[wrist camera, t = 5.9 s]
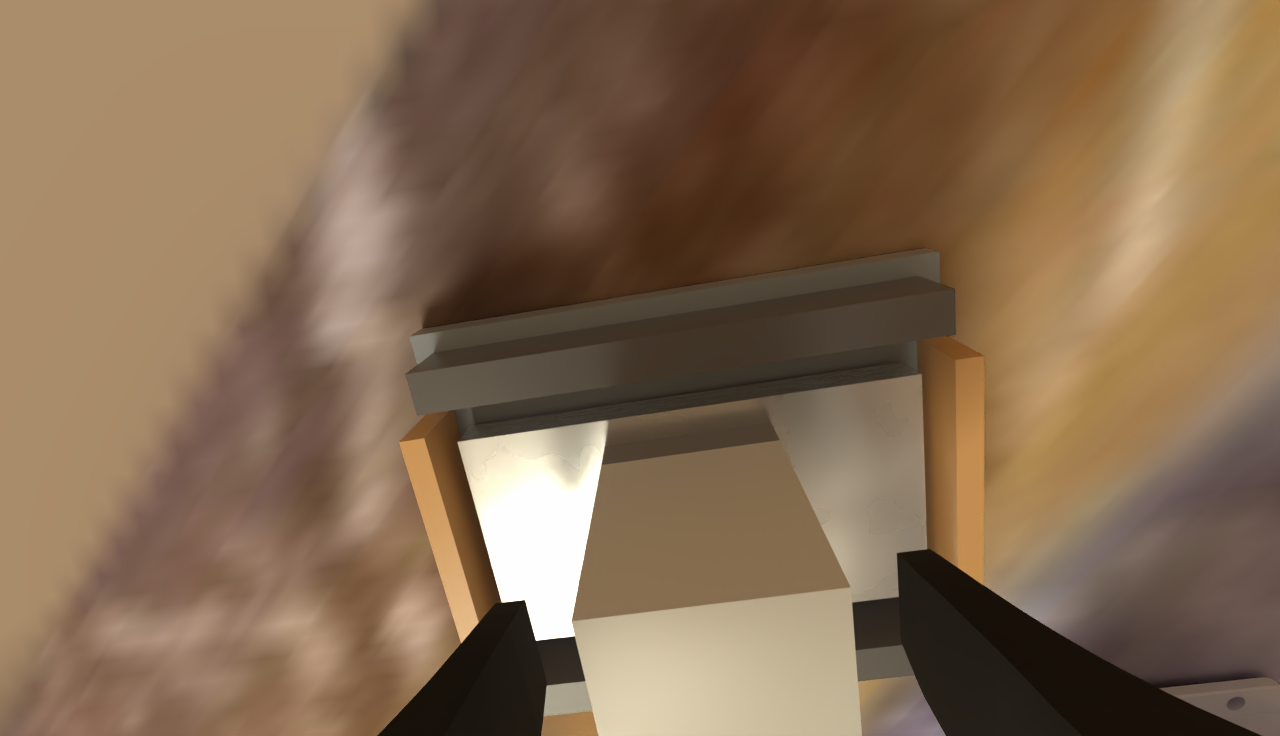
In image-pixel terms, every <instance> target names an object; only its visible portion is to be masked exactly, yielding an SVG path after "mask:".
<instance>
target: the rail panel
mask: <svg viewBox="0 0 1280 736" xmlns="http://www.w3.org/2000/svg"><path fill="white" fill-rule="evenodd" d="M950 335H955V289H954V288H951V287H948V286H946V285H943V284H940V251H936V250H932V249H928V248H921V249H915V250H909V251H903V252H897V253H890V254H884V255H878V256H872V257H866V258H859V259H853V260H847V261H841V262H834V263H828V264H822V265H816V266H810V267H803V268H797V269H791V270H785V271H779V272H772V273H766V274H760V275H754V276H748V277H741V278H735V279H729V280H723V281H716V282H710V283H704V284H698V285H692V286H685V287H679V288H673V289H667V290H661V291H654V292H648V293H642V294H636V295H630V296H623V297H617V298H611V299H605V300H599V301H592V302H586V303H580V304H574V305H567V306H561V307H555V308H549V309H543V310H536V311H530V312H524V313H518V314H512V315H505V316H499V317H493V318H487V319H481V320H474V321H468V322H462V323H456V324H449V325H443V326H437V327H431V328H425V329H421V330H419V331H417V332H416V333H414V334H413V335H411V336H409V337H410V341H411V344H412V348H413V351H414V355H415V358H416V362H417V366H415V367H414V368H413V369H412V370H410V371H409V372H408V373H406V374H405V375H406V379H407V382H408V385H409V389H410V392H411V396H412V399H413V402H414V406H415V409H416V412H417V416H418V415H424V414H426V415H425V416H424V417H423V418H422V419H421V420H420V421H419V422H418V423H417V424H416V425H415V426H414V427H413V428H412V429H411V430H410V431H409V433H408V434H407V435H406V436H405V437H404V438H403V439H402V440H401V441H400V442H399V444H400V447H401V450H402V453H403V457H404V460H405V463H406V466H407V469H408V473H409V476H410V479H411V482H412V486H413V489H414V492H415V495H416V499H417V502H418V505H419V508H420V511H421V515H422V518H423V521H424V524H425V528H426V531H427V534H428V537H429V541H430V544H431V547H432V550H433V553H434V557H435V560H436V563H437V566H438V570H439V573H440V576H441V579H442V583H443V586H444V589H445V592H446V595H447V599H448V602H449V605H450V608H451V612H452V615H453V618H454V621H455V625H456V628H457V631H458V634H459V637H460V641H461V643H462V642H463V641H464V640H465V638H466V637H467V636H468V635H469V634H470V632H471V631H472V630H473V629H474V628H475V626H476V625H477V624H478V623H479V622H480V620H481V619H482V618H483V617H484V616H485V615H486V613H487V612H488V611H489V610H490V609H491V608H492V607H493V605H494V604H495V603H502V601H501V597H500V593H499V590H498V586H497V583H496V579H495V575H494V572H493V568H492V565H491V561H490V557H489V554H488V550H487V547H486V543H485V539H484V536H483V532H482V529H481V525H480V522H479V518H478V514H477V511H476V507H475V504H474V500H473V496H472V493H471V489H470V486H469V482H468V478H467V475H466V471H465V468H464V464H463V460H462V457H461V453H460V450H459V446H458V443H457V442H458V440H459V439H460V438H461V437H462V435H463V434H464V433H465V431H466V430H467V429H468V427H469V426H472V425H479V424H486V423H492V422H499V421H506V420H513V419H520V418H526V417H533V416H540V415H547V414H553V413H560V412H567V411H574V410H580V409H587V408H594V407H601V406H607V405H614V404H621V403H628V402H634V401H641V400H648V399H655V398H661V397H668V396H675V395H682V394H688V393H695V392H702V391H709V390H716V389H722V388H729V387H736V386H743V385H749V384H756V383H763V382H770V381H776V380H783V379H790V378H797V377H803V376H810V375H817V374H824V373H830V372H837V371H844V370H851V369H857V368H864V367H871V366H878V365H885V364H891V363H898V362H906V363H907V364H908V365H910V366H911V367H913V368H914V369H915V370H917V371H918V372H920V373H921V374H922V397H923V430H924V463H925V497H926V530H927V549H931V550H932V551H934V552H936V553H937V554H939V555H940V556H942V557H943V558H944V559H946V560H947V561H949V562H950V563H952V564H953V565H955V566H956V567H958V568H959V569H960V570H962V571H963V572H965V573H966V574H968V575H969V576H971V577H972V578H974V579H975V580H976V581H978V582H979V583H981V584H982V585H984V355H982V354H980V353H978V352H976V351H974V350H972V349H970V348H968V347H967V346H965V345H963V344H961V343H959V342H957V341H955V340H953V339H951V338H949V337H948V336H950ZM852 609H853V623H854V637H855V650H856V664H857V677H858V681H865V680H874V679H883V678H892V677H902V676H911V675H915V674H914V672H913V670H912V667H911V665H910V662H909V660H908V658H907V655H906V653H905V650H904V648H903V645H902V643H901V633H900V612H899V597H894V598H885V599H877V600H869V601H860V602H852ZM536 642H537V646H538V650H539V654H540V657H541V661H542V665H543V669H544V673H545V676H546V680H547V687H546V697H545V706H544V715H543V716H549V715H558V714H567V713H576V712H585V711H593V710H592V706H591V702H590V698H589V693H588V689H587V685H586V681H585V677H584V673H583V668H582V664H581V660H580V656H579V652H578V648H577V643H576V639H575V636H569V637H561V638H552V639H544V640H536Z"/></svg>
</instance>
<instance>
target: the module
mask: <svg viewBox="0 0 1280 736" xmlns="http://www.w3.org/2000/svg"><path fill="white" fill-rule="evenodd" d="M571 623H572V627H573V631H574V635H575V639H576V643H577V648H578V652H579V656H580V660H581V664H582V668H583V673H584V677H585V681H586V685H587V689H588V693H589V698H590V702H591V706H592V710H593V714H594V718H595V723H596V727H597V731H598V735H599V736H862V731H861V718H860V704H859V691H858V677H857V664H856V650H855V637H854V623H853V609H852V596H851V587H850V585H849V582H848V580H847V578H846V576H845V574H844V572H843V570H842V568H841V566H840V564H839V562H838V560H837V558H836V555H835V553H834V551H833V549H832V547H831V545H830V543H829V541H828V539H827V537H826V535H825V533H824V531H823V529H822V526H821V524H820V522H819V520H818V518H817V516H816V514H815V512H814V510H813V508H812V506H811V504H810V502H809V500H808V497H807V495H806V493H805V491H804V489H803V487H802V485H801V483H800V481H799V479H798V477H797V475H796V473H795V470H794V468H793V466H792V464H791V462H790V460H789V458H788V456H787V454H786V452H785V450H784V448H783V446H782V444H781V441H780V439H779V437H778V435H777V433H776V431H775V429H774V427H773V425H772V423H765V424H758V425H751V426H744V427H737V428H730V429H723V430H716V431H709V432H702V433H695V434H688V435H681V436H674V437H667V438H660V439H653V440H646V441H639V442H632V443H625V444H618V445H611V446H605V448H604V453H603V458H602V464H601V469H600V474H599V479H598V484H597V490H596V495H595V500H594V505H593V510H592V516H591V521H590V526H589V531H588V536H587V542H586V547H585V552H584V557H583V562H582V568H581V573H580V578H579V583H578V589H577V594H576V599H575V604H574V609H573V615H572V620H571Z"/></svg>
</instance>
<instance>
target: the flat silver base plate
mask: <svg viewBox="0 0 1280 736" xmlns="http://www.w3.org/2000/svg"><path fill="white" fill-rule="evenodd" d="M765 423H772V425H773V427H774V429H775V431H776V433H777V435H778V437H779V439H780V441H781V444H782V446H783V448H784V450H785V452H786V454H787V456H788V458H789V460H790V462H791V464H792V466H793V468H794V470H795V473H796V475H797V477H798V479H799V481H800V483H801V485H802V487H803V489H804V491H805V493H806V495H807V497H808V500H809V502H810V504H811V506H812V508H813V510H814V512H815V514H816V516H817V518H818V520H819V522H820V524H821V526H822V529H823V531H824V533H825V535H826V537H827V539H828V541H829V543H830V545H831V547H832V549H833V551H834V553H835V555H836V558H837V560H838V562H839V564H840V566H841V568H842V570H843V572H844V574H845V576H846V578H847V580H848V582H849V585H850V587H851V596H852V602H860V601H869V600H877V599H885V598H894V597H899V591H898V569H897V553H900V552H908V551H916V550H924V549H927V530H926V497H925V463H924V430H923V397H922V374H921V373H920V372H918V371H917V370H915V369H914V368H913V367H911V366H910V365H908V364H907V363H906V362H898V363H891V364H885V365H878V366H871V367H864V368H857V369H851V370H844V371H837V372H830V373H824V374H817V375H810V376H803V377H797V378H790V379H783V380H776V381H770V382H763V383H756V384H749V385H743V386H736V387H729V388H722V389H716V390H709V391H702V392H695V393H688V394H682V395H675V396H668V397H661V398H655V399H648V400H641V401H634V402H628V403H621V404H614V405H607V406H601V407H594V408H587V409H580V410H574V411H567V412H560V413H553V414H547V415H540V416H533V417H526V418H520V419H513V420H506V421H499V422H492V423H486V424H479V425H472V426H469V427H468V429H467V430H466V431H465V433H464V434H463V435H462V437H461V438H460V439H459V440H458V442H457V443H458V446H459V450H460V453H461V457H462V460H463V464H464V468H465V471H466V475H467V478H468V482H469V486H470V489H471V493H472V496H473V500H474V504H475V507H476V511H477V514H478V518H479V522H480V525H481V529H482V532H483V536H484V539H485V543H486V547H487V550H488V554H489V557H490V561H491V565H492V568H493V572H494V575H495V579H496V583H497V586H498V590H499V593H500V597H501V601H502V602H510V601H518V600H525V601H526V604H527V608H528V612H529V616H530V620H531V623H532V627H533V631H534V635H535V639H536V640H544V639H552V638H561V637H569V636H575V635H574V631H573V627H572V623H571V620H572V615H573V609H574V604H575V599H576V594H577V589H578V583H579V578H580V573H581V568H582V562H583V557H584V552H585V547H586V542H587V536H588V531H589V526H590V521H591V516H592V510H593V505H594V500H595V495H596V490H597V484H598V479H599V474H600V469H601V464H602V458H603V453H604V448H605V446H611V445H618V444H625V443H632V442H639V441H646V440H653V439H660V438H667V437H674V436H681V435H688V434H695V433H702V432H709V431H716V430H723V429H730V428H737V427H744V426H751V425H758V424H765Z"/></svg>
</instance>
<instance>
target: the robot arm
mask: <svg viewBox="0 0 1280 736" xmlns="http://www.w3.org/2000/svg"><path fill="white" fill-rule="evenodd" d="M897 569H898V591H899V612H900V633H901V643H902V645H903V648H904V650H905V653H906V655H907V658H908V660H909V662H910V665H911V667H912V670H913V672H914V674H915V677H916V679H917V681H918V684H919V686H920V688H921V690H922V693H923V695H924V697H925V699H926V701H927V702H928V704H929V706H930V708H931V710H932V711H933V713H934V715H935V717H936V719H937V720H938V722H939V724H940V726H941V728H942V729H943V731H944V733H945V735H946V736H1280V684H1278V683H1277V682H1276V681H1275V680H1273V679H1271V678H1263V677H1260V678H1251V679H1241V680H1232V681H1222V682H1213V683H1203V684H1194V685H1185V686H1175V687H1166V688H1157V687H1155V686H1153V685H1151V684H1149V683H1147V682H1145V681H1143V680H1141V679H1139V678H1138V677H1136V676H1134V675H1132V674H1130V673H1128V672H1126V671H1124V670H1122V669H1120V668H1118V667H1116V666H1114V665H1113V664H1111V663H1109V662H1107V661H1105V660H1103V659H1101V658H1100V657H1098V656H1096V655H1094V654H1093V653H1091V652H1089V651H1087V650H1086V649H1084V648H1082V647H1081V646H1079V645H1077V644H1075V643H1074V642H1072V641H1070V640H1069V639H1067V638H1065V637H1063V636H1062V635H1060V634H1058V633H1057V632H1055V631H1053V630H1052V629H1050V628H1049V627H1047V626H1045V625H1044V624H1042V623H1040V622H1039V621H1037V620H1036V619H1034V618H1032V617H1031V616H1029V615H1028V614H1026V613H1025V612H1023V611H1021V610H1020V609H1018V608H1017V607H1015V606H1014V605H1012V604H1011V603H1009V602H1008V601H1006V600H1005V599H1003V598H1002V597H1000V596H999V595H997V594H996V593H994V592H993V591H991V590H990V589H988V588H987V587H985V586H984V585H982V584H981V583H979V582H978V581H976V580H975V579H974V578H972V577H971V576H969V575H968V574H966V573H965V572H963V571H962V570H960V569H959V568H958V567H956V566H955V565H953V564H952V563H950V562H949V561H947V560H946V559H944V558H943V557H942V556H940V555H939V554H937V553H936V552H934V551H932V550H931V549H924V550H916V551H908V552H900V553H897ZM546 687H547V680H546V676H545V673H544V669H543V665H542V661H541V657H540V654H539V650H538V646H537V642H536V639H535V635H534V631H533V627H532V623H531V620H530V616H529V612H528V608H527V604H526V601H525V600H518V601H510V602H502V603H495V604H494V605H493V607H492V608H491V609H490V610H489V611H488V612H487V613H486V615H485V616H484V617H483V618H482V619H481V620H480V622H479V623H478V624H477V625H476V626H475V628H474V629H473V630H472V631H471V632H470V634H469V635H468V636H467V637H466V638H465V640H464V641H463V642H462V643H461V644H460V646H459V647H458V648H457V649H456V650H455V651H454V653H453V654H452V655H451V656H450V657H449V658H448V660H447V661H446V662H445V663H444V664H443V665H442V667H441V668H440V669H439V670H438V671H437V672H436V674H435V675H434V676H433V677H432V678H431V679H430V680H429V682H428V683H427V684H426V685H425V686H424V687H423V688H422V689H421V690H420V691H419V692H418V693H417V695H416V696H415V697H414V698H413V699H412V700H411V701H410V702H409V703H408V704H407V705H406V706H405V707H404V708H403V709H402V711H401V712H400V713H399V714H398V715H397V716H396V717H395V718H394V719H393V720H392V721H391V722H390V723H389V724H388V725H387V726H386V728H385V729H384V730H383V731H382V732H381V733H380V734H379V735H378V736H541V731H542V723H543V715H544V706H545V697H546Z"/></svg>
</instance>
